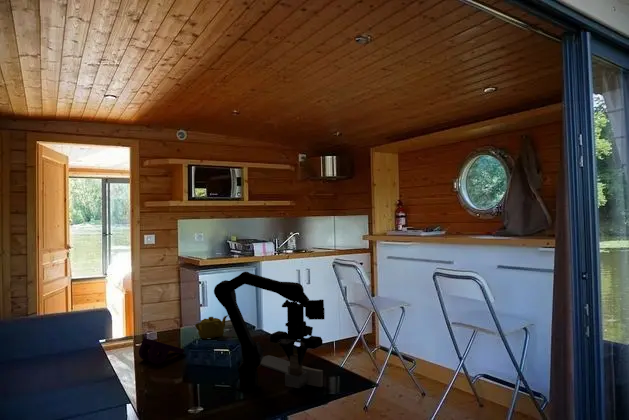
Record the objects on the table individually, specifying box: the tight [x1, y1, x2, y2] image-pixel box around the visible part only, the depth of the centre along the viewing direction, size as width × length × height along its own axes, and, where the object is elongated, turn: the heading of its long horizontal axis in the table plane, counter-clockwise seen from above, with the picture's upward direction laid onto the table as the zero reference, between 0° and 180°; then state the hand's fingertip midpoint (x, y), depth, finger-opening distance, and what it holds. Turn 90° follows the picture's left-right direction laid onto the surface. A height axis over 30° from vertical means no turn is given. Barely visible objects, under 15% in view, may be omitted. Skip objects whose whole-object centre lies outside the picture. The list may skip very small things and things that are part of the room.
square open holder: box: [284, 370, 308, 389], centre depth 159 cm, size 8×6×4 cm
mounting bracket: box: [138, 337, 185, 365], centre depth 195 cm, size 9×8×18 cm
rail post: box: [290, 353, 303, 376], centre depth 158 cm, size 3×3×8 cm
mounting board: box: [288, 365, 324, 388], centre depth 163 cm, size 2×14×6 cm, turn 60°
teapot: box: [194, 314, 229, 340], centre depth 228 cm, size 14×13×10 cm
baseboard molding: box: [259, 354, 310, 375], centre depth 181 cm, size 31×3×12 cm
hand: (296, 364), depth 158 cm, fingers closed on rail post, 3 cm apart
